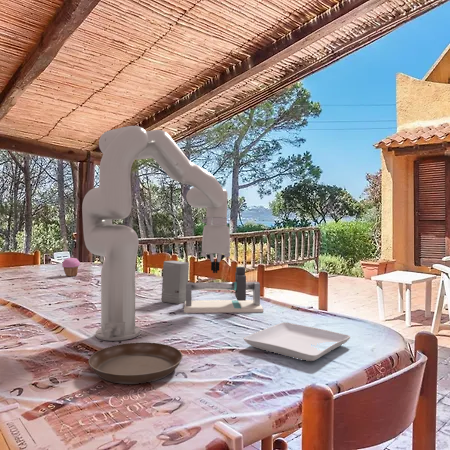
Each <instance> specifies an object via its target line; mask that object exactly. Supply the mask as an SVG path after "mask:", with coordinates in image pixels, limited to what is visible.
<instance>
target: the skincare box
mask: <svg viewBox="0 0 450 450" xmlns="http://www.w3.org/2000/svg"><path fill="white" fill-rule="evenodd" d="M189 266H190V262H186V261H179V260H166V261H163V267H162V269H163V270H162V283H161V303H167V304H168V303H169V304H175V305H176V304H177V305H180V304H182V303H185V301H186V282H189V271H190V270H189Z"/></svg>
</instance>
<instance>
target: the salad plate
mask: <svg viewBox="0 0 450 450" xmlns="http://www.w3.org/2000/svg"><path fill="white" fill-rule="evenodd" d="M350 339H351V336H350V335H348V334H344V333H339V332H335V331H332V330H331V331H330V330H327V329H322V328H317V327H314V326H307V325H302V324H297V323H291V322H280V323H278V324H275V325H272V326H269V327H267V328H264V329H261V330H259V331H256V332H254V333H252V334H249V335H247V336H245V337H243V340H244V342H245V344H246V343H247V344H248V345H250V346H251V347H253V348H256V349H258V350H259V349H260V350H262V351H264V350H266V351H265V352H268V351H270V352H269V353H271V352H274V353H273V354H275V353H278V354H277V355H279V354H282V355H286V356H290V357H294V358H298V359H302V360H306V361H305V362H312V361H313V362H314V361H317V360H318V359H320V358H321V357H323V356H325V355H327V354H329V353H330V352H331V350H332V351H333V350H335V349H338V348H339V347H341V346H343V345H344V344H346V343H347V342H348V341H349V340H350ZM323 342H324V343H325V342H337V343H335V344H333V345H332V346H330V347H328V348H327V349H325V350H323V351H320V350H319V351H318V350H317V348H314V347H315V346H316V345H317V343H318V344H319V343H323ZM311 344H312V345H315V346H314V347H313V346H312V347H311ZM342 344H343V345H342ZM319 345H320V344H319ZM340 345H341V346H340ZM318 349H319V348H318ZM282 355H281V356H282ZM286 356H285V357H286ZM290 357H289V358H290ZM294 358H293V359H294ZM298 359H297V360H298ZM302 360H301V361H302Z"/></svg>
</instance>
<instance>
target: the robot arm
mask: <svg viewBox="0 0 450 450" xmlns="http://www.w3.org/2000/svg"><path fill="white" fill-rule="evenodd" d="M98 148H99V150H100V151H101V153H102V156H101V159H100V163H99V167H98V169H99V171H98V173H99V175H98V176H99V177H98V178H99V181H98V183H99V185H98V187H94V188H91V189H90V190H88V191H87V192H86V194H85V195H84V198H83V200H82V205H81V206H82V207H81V209H82V210H81V211H82V212H81V214H82V229H83V240H84V245H85V247H86V249H87V250H88V251H89V253H90V254H93V255H95V256H100V257H104V261H103V263H102V265H101V271H100V317H101V318H100V322H101V323H100V328H99V329H97V330H96V331H95V337H96V338H97V340H98V339H99V340H103V341H109V342H115V341H116V342H118V341H120V342H121V341H127V340H131V339H134V338H136V337H138V336H140V335H141V333H142V329H141V327H139V326H138V325H136V266H137V265H136V263H137V255H138V251H139V247H140V246H139V245H140V244H139V236H138V234H137V232H136V231H135V230H134V228H132V227H130V226H127V225H124V224H115V223H114V224H113V221H117V220H118V221H119V220H120V221H121V220H124V219H126V218H128V217H129V216H130V214H131V212H132V202H133V201H132V187H131V185H132V183H131V170H132V165H133V164H134V162H135V160H145V159H146V160H147V159H153V160H154V161H155V163H157V164H158V165H159V167H160V168H161V169H162V170H163V172H164V173H166V175H167V176H168V177H169V178H170V179H172V180H174V181H175V182H178V183H182V184H185V185H188V186H190V187H191V188H189V190H188V191H187V193H186V197H185V198H186V199H185V200H186V201H187V203H188V204H189V205H190V207H193V208H195V209H206V215H205V216H206V217H205V218H202V219H201V220H202V222H201V223H203V224H206V225H203V229H202V230H203V231H202V237H201V239H202V240H201V252H200V255H201V257H205V258H207V259H208V260H209V261H210V263H211V264H210V271H212V273H213V274H218V271H220V262H221V261H222V260H223V259H224V258H229V257H231V253H230V251H231V234H230V227H229V226H227V224H228V223H227V221H228V218H227V217H228V194H229V193H228V191H227V189H225V188H223V187H222V185H221V184H220V182H219V181H218V179H216V177H215V176H214V175H213V174H212V173H210V171H209V172H208V170H206V169H204V168H203V167H201V166H199V165H198V164H196V163H194V162H192V161H191V160H190V159H188V157H187V156H186V154H184V152H183V151H182V149H181V148H180V147H179V146H178V144H177V143H176V141H175V140H174V139H173V137H171V136H170V135H169V133H168V132H166V131H165V130H162V129H154V130H152V129H151V130H148V131H146V130H145V129H144V127H142V126H138V125H127V126H123V127H119V128H115V129H110V130H107V131H105V132H103V133H102V134H101V136H100V137H99V141H98ZM214 255H217V257H216V260H215V258H214Z"/></svg>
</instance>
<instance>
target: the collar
mask: <svg viewBox="0 0 450 450" xmlns="http://www.w3.org/2000/svg"><path fill="white" fill-rule="evenodd" d="M234 273H235V274H234V275H235V276H234V277H235V279H234V280H235V281H234V282H237V290H234V292H235V293H234V295H235V298H236V300H237V301H246V300H247V295H246V294H247V290H246V282H247V275H246V267H245V266H236V267H235V272H234Z"/></svg>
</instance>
